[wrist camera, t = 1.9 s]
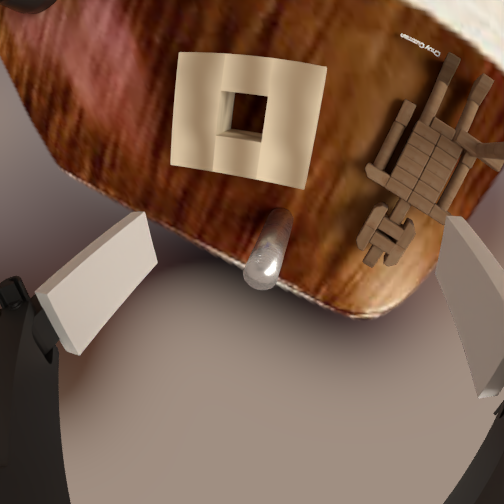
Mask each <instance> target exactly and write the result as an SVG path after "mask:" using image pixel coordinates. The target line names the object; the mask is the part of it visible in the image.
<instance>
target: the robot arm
mask: <svg viewBox="0 0 504 504" xmlns="http://www.w3.org/2000/svg"><path fill="white" fill-rule="evenodd" d="M55 1H56V0H0V4H1V5H3V6H6V7H8V8H10V9H13V10H15V11H17V12H20V13H31V14H34V13H39V12H41V11H43V10H45V9H47V8H48V7H49V6H51V5H52V4H53V3H54V2H55ZM156 264H157V258H156V255H155V251H154V247H153V243H152V239H151V235H150V231H149V227H148V223H147V219H146V214H145V212H131V213H130V214H129V215H128V216H126V217H125V218H124V219H122V220H121V221H119V222H118V223H117V224H115V225H114V226H113V227H111V228H110V229H109V230H108V231H106V232H105V233H104V234H102V235H101V236H100V237H99V238H97V239H96V240H95V241H94V242H92V243H91V244H90V245H89V246H88V247H86V248H85V249H84V250H82V251H81V252H80V253H79V254H77V255H76V256H75V257H74V258H73V259H71V260H70V261H69V262H68V263H67V264H66V265H64V266H63V267H62V268H61V269H60V270H58V271H57V272H56V273H55V274H54V275H53V276H52V277H50V278H49V279H48V280H47V281H46V282H45V283H44V284H43V285H42V286H41V287H39V288H38V289H37V290H36V291H35V295H34V296H33V297H32V298H31V299H30V297H29V295H28V293H27V290H26V288H25V286H24V284H23V282H22V280H21V278H20V277H19V276H13V277H10V278H8V279H6V280H4V281H3V282H1V283H0V304H1V307H2V309H0V504H71V503H70V498H69V492H68V487H67V481H66V475H65V468H64V461H63V452H62V444H61V432H60V417H59V395H58V394H59V391H58V366H59V365H58V364H59V352H58V348H57V347H56V345H55V344H56V343H57V341H58V340H59V339H60V341H61V343H62V345H63V346H64V348H65V350H66V351H68V352H71V353H73V354H76V355H79V356H80V354H81V353H82V352H83V350H84V349H85V348H86V347H87V346H88V344H89V343H90V342H91V341H92V339H93V338H94V337H95V336H96V334H97V333H98V332H99V330H100V329H101V328H102V327H103V326H104V324H105V323H106V322H107V321H108V320H109V319H110V317H111V316H112V315H113V314H114V313H115V311H116V310H117V309H118V308H119V306H120V305H121V304H122V303H123V302H124V300H126V298H127V297H128V296H129V295H130V294H131V292H132V291H133V290H134V289H135V288H136V287H137V285H138V284H139V283H140V282H141V281H142V280H143V279H144V278H145V276H146V275H147V274H148V273H149V272H150V271H151V270H152V268H153V267H154V266H155V265H156ZM435 275H436V277H437V280H438V282H439V284H440V287H441V289H442V292H443V294H444V296H445V299H446V302H447V304H448V307H449V309H450V312H451V314H452V317H453V320H454V322H455V325H456V328H457V331H458V333H459V337H460V339H461V342H462V345H463V348H464V352H465V354H466V358H467V361H468V364H469V368H470V371H471V375H472V378H473V382H474V385H475V389H476V393H477V397H478V398H484V397H490V396H497V395H498V394H499V392H500V391H501V390H502V388H503V387H504V270H503V269H502V267H501V266H500V264H499V263H498V262H497V260H496V259H495V257H494V256H493V255H492V253H491V252H490V251H489V250H488V248H487V247H486V246H485V244H484V243H483V242H482V240H481V239H480V238H479V237H478V235H477V234H476V233H475V232H474V230H473V229H472V228H471V227H470V226H469V224H468V223H467V222H466V221H465V220H464V218H463V217H459V216H446V221H445V227H444V233H443V238H442V243H441V248H440V253H439V258H438V263H437V267H436V272H435ZM497 413H498V414H497ZM496 414H497V416H496V419H495V420H494V423H493V425H492V427H491V429H490V430H489V432H488V434H487V436H486V438H485V440H484V442H483V444H482V445H481V447H480V449H479V450H478V452H477V454H476V456H475V457H474V459H473V461H472V462H471V464H470V465H469V467H468V469H467V470H466V472H465V473H464V475H463V476H462V478H461V480H460V481H459V482H458V484H457V486H456V487H455V488H454V490H453V491H452V492H451V494H450V495H449V497H448V498H447V499H446V501H445V502H444V503H443V504H504V400H503V402H502V403H501V405H500V406H499V407H498V408H497V410H496V411H495V412H494V415H496Z"/></svg>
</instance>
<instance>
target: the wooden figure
mask: <svg viewBox="0 0 504 504" xmlns="http://www.w3.org/2000/svg"><path fill="white" fill-rule="evenodd" d="M404 35H405V34H404ZM404 35H403V36H402V33H401V37H404V38H405V37H406V36H407V35H405V36H404ZM408 38H409V36H407V37H406V38H405V39H407V40H409V41H411V42H412V41H413V38H412V40H410V39H411V37H410V39H408ZM414 40H415V39H414ZM416 41H417V40H415V41H413V43H415V44H417V43H418V42H419V44H418V45H421V44H423V43H420V41H417V43H416ZM419 47H420V48H424V44H423V47H421V46H419ZM426 48H428V50H430V49H431V52H433V51H434V49H433V48H431V47H430V48H429V45H428V46H427V47H426ZM426 48H425V49H426ZM432 49H433V51H432ZM436 52H438V53H439V55H436V54H435V53H436ZM433 53H434V55H436V56H437V57H438V56H440V52H439V51H436V50H435V52H433ZM460 60H461V59H460V58H459V57H457V56H456V55H454V54H452V53H450V52H449V53H448V55H447V57H446V58H445V61H444V63H443V65H442V68H441V70H440V72H439V75H438V77H437V80H436V83H435V85H434V88H433V90H432V92H431V95H430V97H429V99H428V101H427V104H426V106H425V108H424V110H423V112H422V115H421V117H420V119H419V121H417V122H416V123H415V125H414V128H413V130H412V132H411V134H410V136H409V138H408V140H407V142H406V144H405V146H404V148H403V150H402V152H401V154H400V156H399V158H398V160H397V162H396V165H395V166H394V168H393V170H392V172H391V174H389V173H387V172H385V171H384V170H385V168H386V166H387V164H388V162H389V160H390V158H391V156H392V154H393V152H394V150H395V148H396V146H397V144H398V142H399V140H400V138H401V136H402V134H403V131H404V129H405V127H407V125H408V123H409V121H410V118H411V116H412V114H413V112H414V110H415V108H416V105H415V104H414V103H412V102H410V101H408V100H406V99H405V100H404V102H403V104H402V106H401V108H400V111H399V113H398V115H397V117H396V119H395V121H394V122H393V124H392V127H391V129H390V131H389V133H388V135H387V137H386V139H385V141H384V143H383V145H382V147H381V149H380V151H379V153H378V155H377V157H376V159H375V161H374V163H373V164H371V163H367V165H366V167H365V171H366V174H367V177H368V178H369V179H371V180H373V181H374V182H376V183H378V184H380V185H381V186H383V187H385V188H386V189H387V190H389V191H390V192H392V193H394V194H395V195H397V196H399V197H400V198H399V200H398V202H397V204H396V205H395V207H394V209H393V211H392V213H391V214H390V216H388V215H387V214H385V213H386V212H387V210H388V205H387V204H386V203H384V202H381V203H377V204H375V205H374V207H373V209H372V210H371V212H370V214H369V216H368V218H367V220H366V221H365V223H364V225H363V226H362V228H361V230H360V232H359V233H358V236H357V238H356V242H357V246H358V248H359V249H360V250H362V251H364V249H365V248H366V246H367V244H368V243H369V242H370V243H371V244H372V246H371V248H370V249H369V251H368V253H367V254H366V256H365V257H364V259H363V263H365V264H366V265H368V266H369V267H371V268H372V267H373V266H374V265H375V264H376V263H377V261H378V259H379V258H380V256H381V255H382V253H383V251H384V252H386V253H385V255H384V262H383V263H384V264H385V265H386V266H393V265H396V264H397V263H398V261H399V260H400V258H401V257H402V255H403V254H404V252H405V250H406V249H407V248H408V246H409V244H410V243H411V241H412V240H413V238H414V236H415V234H416V233H415V228H414V224H413V221H412V220H411V219H409V218H407V219H406V221H405V222H404V224H401V222H402V220H403V219H404V217H405V215H406V213H407V212H408V210H409V208H410V206H411V205H413V206H414V207H416V208H417V209H419V210H421V211H422V212H424V213H425V214H427V215H429V216H430V217H432V218H433V219H435V220H436V221H438V222H439V223H440V224H442V225H445V221H446V216H452V215H451V214H450V213H449V212H448V211H447V210H448V208H449V206H450V204H451V203H452V201H453V199H454V197H455V195H456V193H457V192H458V190H459V188H460V186H461V184H462V182H463V180H464V178H465V176H466V174H467V172H468V170H469V168H472V166H473V164H474V162H475V160H476V158H479V159H480V160H481V161H483V162H484V163H485V164H487V165H488V166H489V167H491V168H492V169H494V170H495V171H498V172H499V171H500V169H501V167H502V165H503V163H504V142H497V143H481V142H480V141H478V140H477V139H476V138H474V137H473V136H471V135H470V134H469V133H467V132H468V130H469V128H470V126H471V123H472V121H473V119H474V116H475V114H476V111H477V109H478V106H479V105H480V104H481V102H482V100H483V99H484V97H485V96H486V94H487V92H488V91H489V89H490V87H491V86H492V84H493V82H494V80H492V79H491V78H490V77H488V76H487V75H485V74H484V73H483V74H482V75H481V76H480V77H478V78H477V80H475V81H474V83H473V86H472V88H471V91H470V93H469V96H468V98H467V103H466V106H465V108H464V110H463V113H462V115H461V117H460V119H459V122H458V124H457V126H456V128H455V129H453V128H452V127H450V126H449V125H447V124H445V123H444V122H442V121H441V120H439V119H438V118H436V117H435V115H436V113H437V111H438V108H439V106H440V104H441V101H442V99H443V97H444V95H445V92H446V90H447V87H448V85H449V83H450V81H451V79H452V77H453V75H454V73H455V71H456V69H457V67H458V65H459V62H460ZM461 146H462V147H461ZM460 154H462V156H461V158H460V160H459V163H458V165H457V167H456V169H455V171H454V173H453V175H452V177H451V178H450V180H449V182H448V184H447V186H446V188H445V190H444V192H443V194H442V195H441V197H440V199H439V201H438V203H437V204H436V203H435V202H436V200H437V198H438V197H439V195H440V193H439V192H441V191H442V189H443V187H444V186H445V184H446V182H447V180H448V178H449V176H450V174H451V171H452V170H453V168H454V166H455V164H456V162H457V159H458V158H459V156H460Z"/></svg>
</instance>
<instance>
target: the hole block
mask: <svg viewBox="0 0 504 504" xmlns="http://www.w3.org/2000/svg"><path fill="white" fill-rule="evenodd" d="M326 72H327V67H323V66H318V65H313V64H308V63H302V62H296V61H290V60H283V59H276V58H268V57H259V56H250V55H238V54H224V53H201V52H179V57H178V66H177V76H176V86H175V98H174V110H173V124H172V141H171V163H170V165H176V166H182V167H189V168H195V169H201V170H207V171H213V172H219V173H224V174H230V175H235V176H241V177H246V178H251V179H256V180H261V181H266V182H271V183H276V184H281V185H285V186H290V187H295V188H299V189H304V188H305V183H306V179H307V175H308V170H309V165H310V160H311V155H312V150H313V144H314V139H315V134H316V129H317V123H318V118H319V112H320V107H321V101H322V96H323V90H324V84H325V78H326ZM235 92H237V93H246V94H253V95H261V96H268V100H267V107H266V114H265V121H264V128H263V134H262V133H256V132H250V131H244V130H237V129H231V123H232V114H233V106H234V98H235Z"/></svg>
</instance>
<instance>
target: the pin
mask: <svg viewBox="0 0 504 504" xmlns="http://www.w3.org/2000/svg"><path fill="white" fill-rule="evenodd" d="M292 225H293V216H292V214H291V212H290V211H288V210H287V209H285V208H275V209H273V210H272V211H271V212H270V214H269V216H268V218H267V220H266V222H265V225H264V227H263V229H262V231H261V233H260V236H259V238H258V240H257V242H256V244H255V246H254V249H253V251H252V253H251V255H250V257H249V259H248V262H247V264H246V266H245V268H244V271H243V276H244V279H245V281H246V282H247V284H248V285H250V286H251V287H253V288H255V289H258V290H267V289H270V288H272V287H273V286H274V285H275V284H276V282H277V279H278V275H279V272H280V268H281V265H282V261H283V258H284V254H285V250H286V247H287V243H288V239H289V236H290V232H291V228H292Z"/></svg>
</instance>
